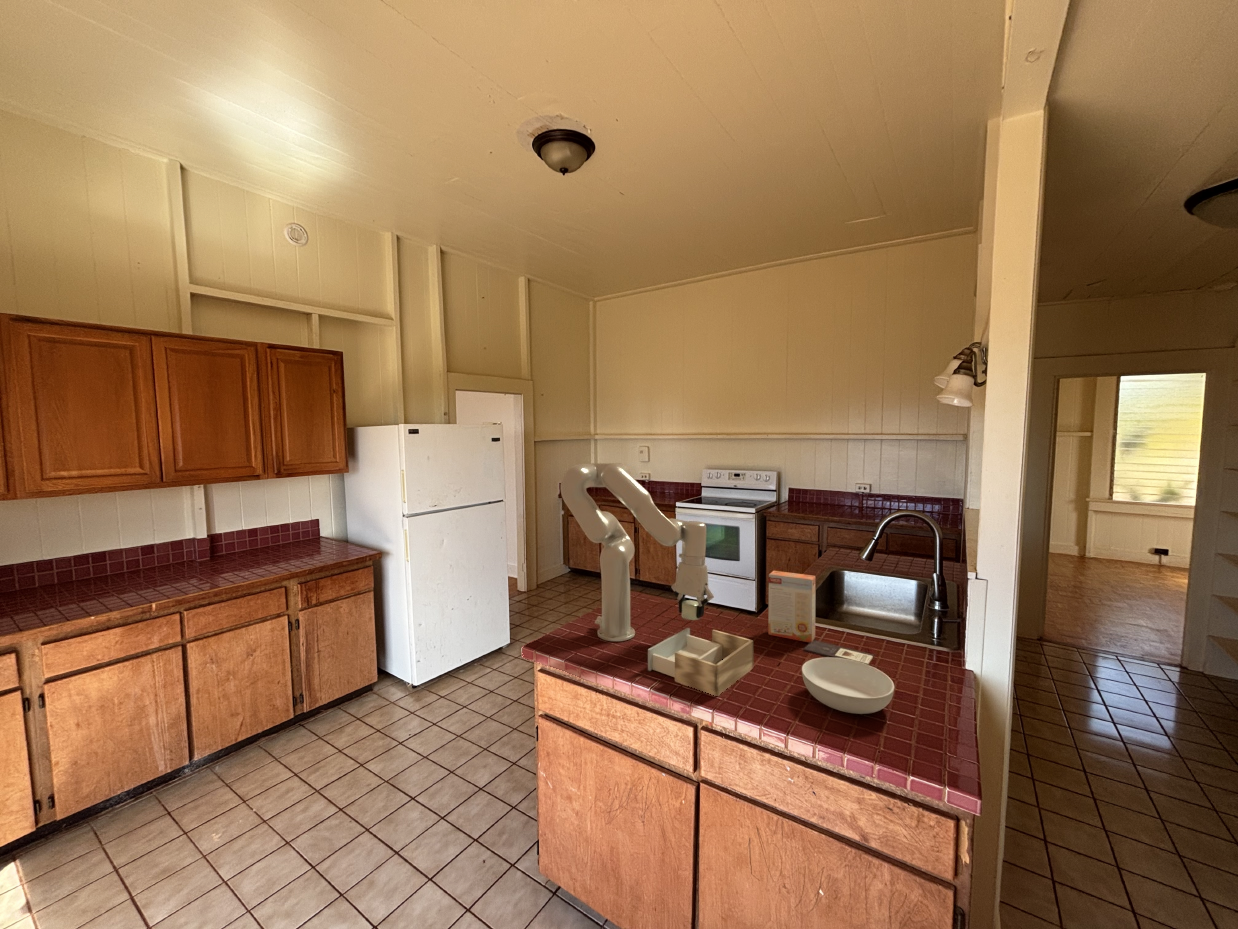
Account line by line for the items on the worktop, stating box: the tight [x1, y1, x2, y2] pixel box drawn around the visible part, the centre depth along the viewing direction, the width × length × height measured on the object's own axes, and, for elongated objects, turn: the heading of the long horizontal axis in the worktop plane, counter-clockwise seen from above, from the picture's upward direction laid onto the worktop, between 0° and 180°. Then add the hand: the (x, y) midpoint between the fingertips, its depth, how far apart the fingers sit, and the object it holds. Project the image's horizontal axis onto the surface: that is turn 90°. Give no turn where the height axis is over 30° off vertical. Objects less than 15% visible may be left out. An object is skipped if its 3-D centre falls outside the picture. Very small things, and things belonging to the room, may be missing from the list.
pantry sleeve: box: [674, 629, 754, 697], centre depth 138 cm, size 13×21×8 cm, turn 140°
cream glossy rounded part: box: [681, 599, 701, 621], centre depth 160 cm, size 6×6×4 cm
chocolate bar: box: [803, 639, 875, 665], centre depth 151 cm, size 9×1×18 cm
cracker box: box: [767, 570, 816, 644], centre depth 164 cm, size 14×6×21 cm, turn 58°
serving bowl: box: [801, 656, 895, 715], centre depth 123 cm, size 21×21×7 cm
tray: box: [647, 627, 723, 678], centre depth 143 cm, size 13×21×6 cm, turn 140°
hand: (690, 614), depth 161 cm, fingers closed on cream glossy rounded part, 5 cm apart
